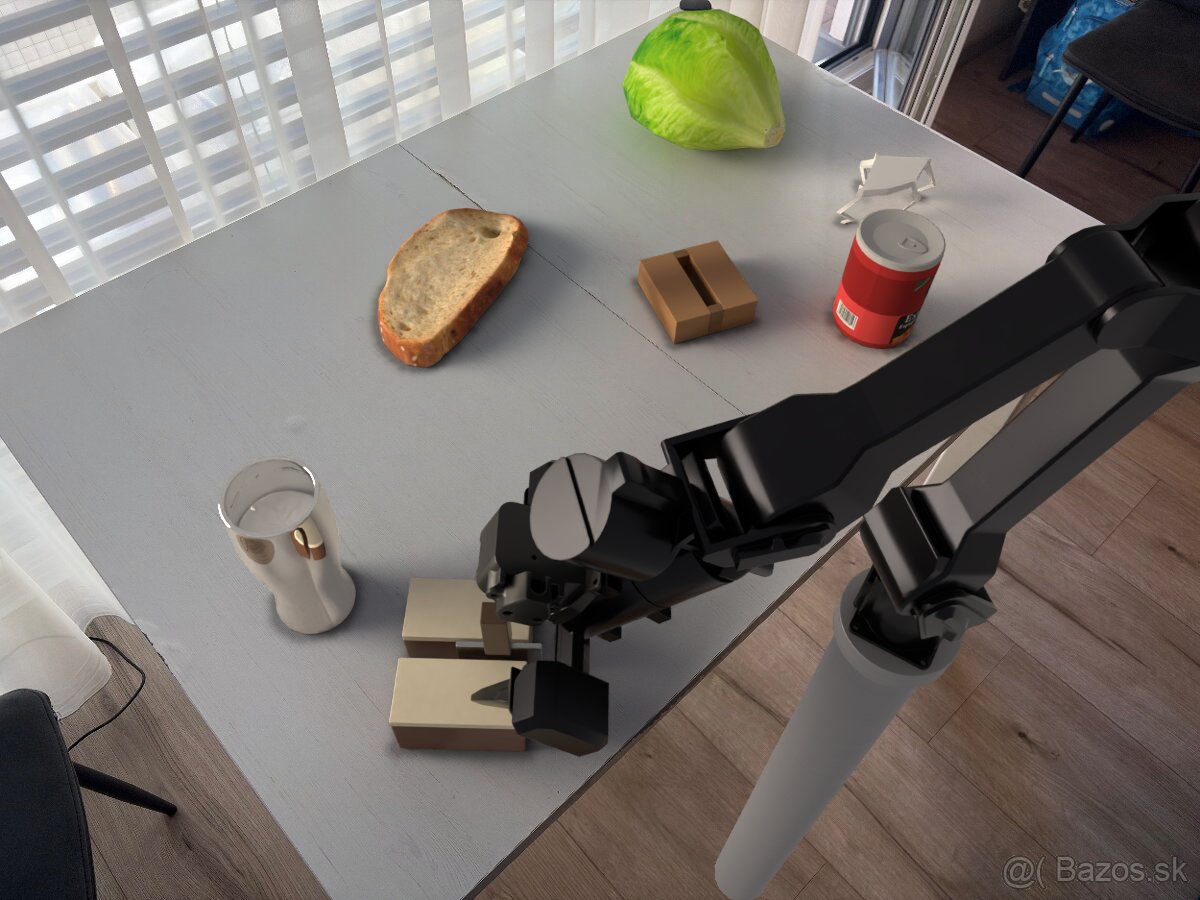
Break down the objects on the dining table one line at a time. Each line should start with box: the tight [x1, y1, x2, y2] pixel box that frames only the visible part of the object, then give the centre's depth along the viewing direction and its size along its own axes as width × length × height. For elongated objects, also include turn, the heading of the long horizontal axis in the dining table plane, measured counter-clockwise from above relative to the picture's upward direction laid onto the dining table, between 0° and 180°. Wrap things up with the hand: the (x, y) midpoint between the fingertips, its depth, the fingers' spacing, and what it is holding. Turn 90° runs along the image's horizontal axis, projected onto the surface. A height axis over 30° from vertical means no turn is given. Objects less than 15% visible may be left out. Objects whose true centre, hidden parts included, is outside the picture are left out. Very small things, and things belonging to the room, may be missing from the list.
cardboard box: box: [637, 240, 759, 345], centre depth 95 cm, size 9×9×3 cm
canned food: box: [832, 208, 947, 349], centre depth 91 cm, size 8×8×11 cm
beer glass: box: [217, 454, 357, 635], centre depth 70 cm, size 7×7×15 cm
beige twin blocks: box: [388, 577, 534, 752], centre depth 71 cm, size 9×11×5 cm
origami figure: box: [836, 152, 937, 225], centre depth 103 cm, size 12×8×5 cm
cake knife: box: [456, 602, 543, 664], centre depth 68 cm, size 6×2×11 cm, turn 89°
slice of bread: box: [377, 207, 530, 368], centre depth 95 cm, size 18×18×4 cm
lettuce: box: [621, 8, 786, 152], centre depth 107 cm, size 15×20×14 cm
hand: (481, 636), depth 67 cm, fingers open, 9 cm apart
